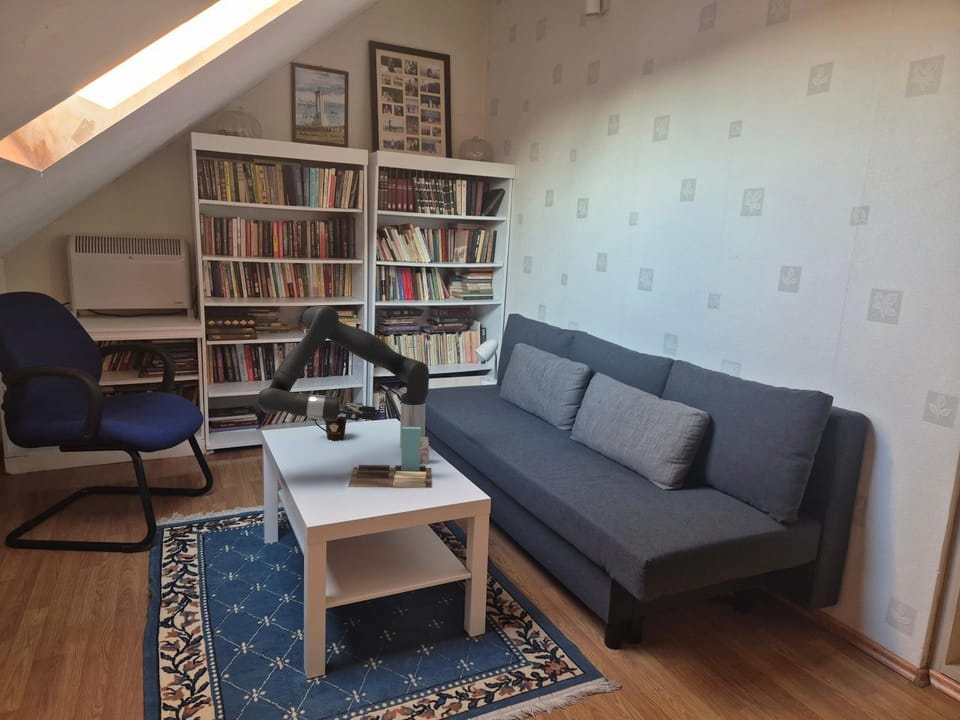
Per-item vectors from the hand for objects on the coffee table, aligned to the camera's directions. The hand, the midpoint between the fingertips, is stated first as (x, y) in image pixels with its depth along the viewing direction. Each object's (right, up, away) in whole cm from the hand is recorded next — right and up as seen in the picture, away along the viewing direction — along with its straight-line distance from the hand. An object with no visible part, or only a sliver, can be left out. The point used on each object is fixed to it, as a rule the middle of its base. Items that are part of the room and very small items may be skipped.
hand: (374, 413), depth 202 cm
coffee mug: (-24, -13, +43) cm, 51 cm away
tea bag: (+12, -20, +17) cm, 29 cm away
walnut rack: (+5, -22, +3) cm, 22 cm away
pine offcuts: (+12, -22, -3) cm, 25 cm away
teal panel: (+11, -21, +5) cm, 24 cm away
